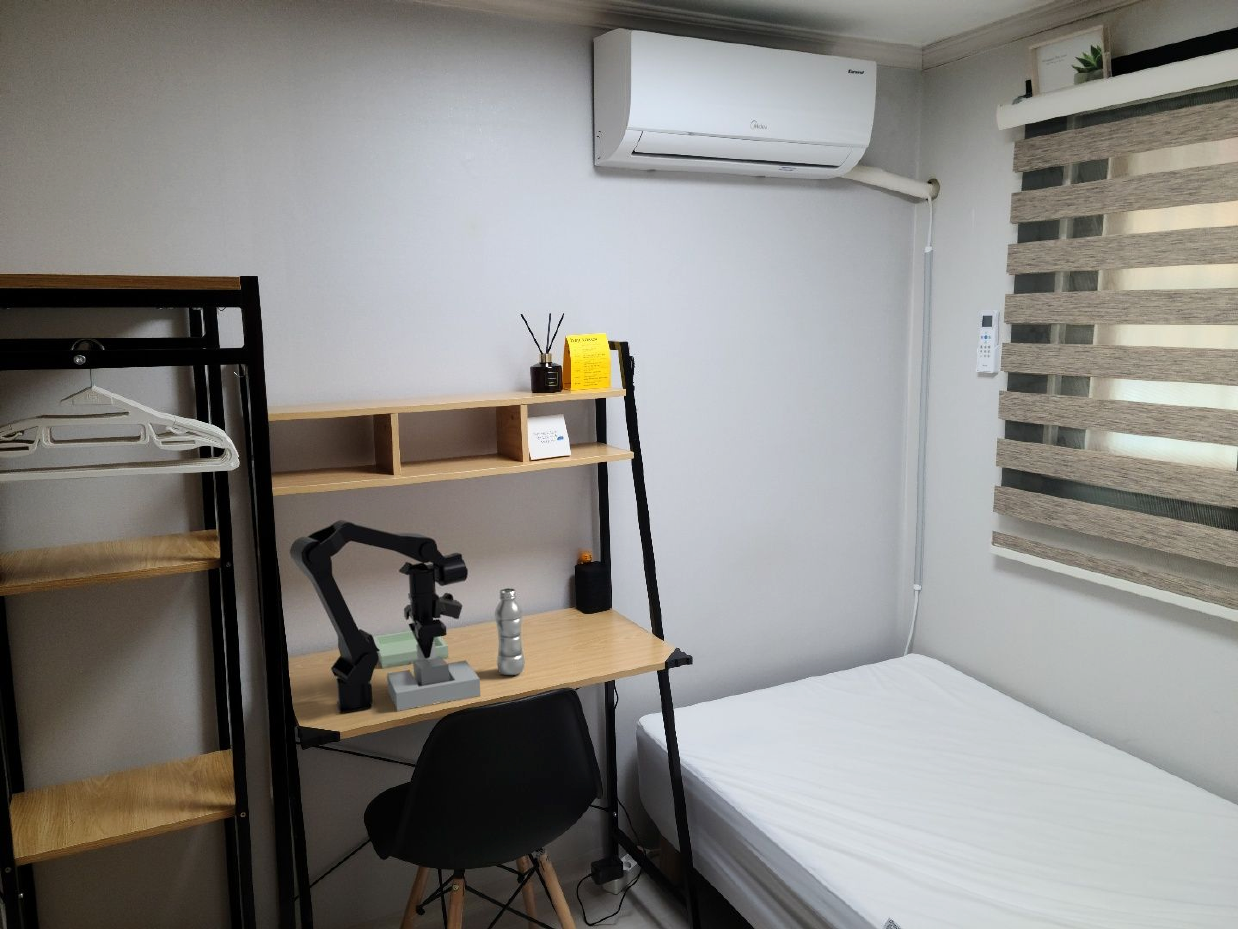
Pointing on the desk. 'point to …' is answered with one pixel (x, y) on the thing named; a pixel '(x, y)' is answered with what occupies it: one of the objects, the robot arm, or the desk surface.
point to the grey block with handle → (430, 668)
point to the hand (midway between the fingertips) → (426, 656)
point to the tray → (403, 648)
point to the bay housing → (433, 687)
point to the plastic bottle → (509, 634)
